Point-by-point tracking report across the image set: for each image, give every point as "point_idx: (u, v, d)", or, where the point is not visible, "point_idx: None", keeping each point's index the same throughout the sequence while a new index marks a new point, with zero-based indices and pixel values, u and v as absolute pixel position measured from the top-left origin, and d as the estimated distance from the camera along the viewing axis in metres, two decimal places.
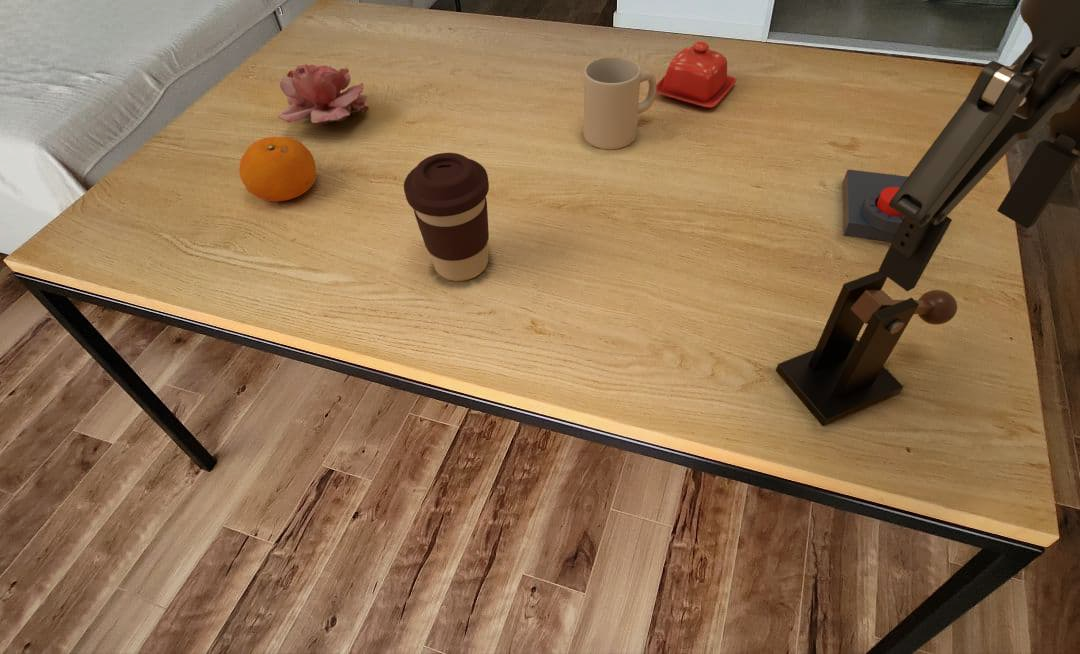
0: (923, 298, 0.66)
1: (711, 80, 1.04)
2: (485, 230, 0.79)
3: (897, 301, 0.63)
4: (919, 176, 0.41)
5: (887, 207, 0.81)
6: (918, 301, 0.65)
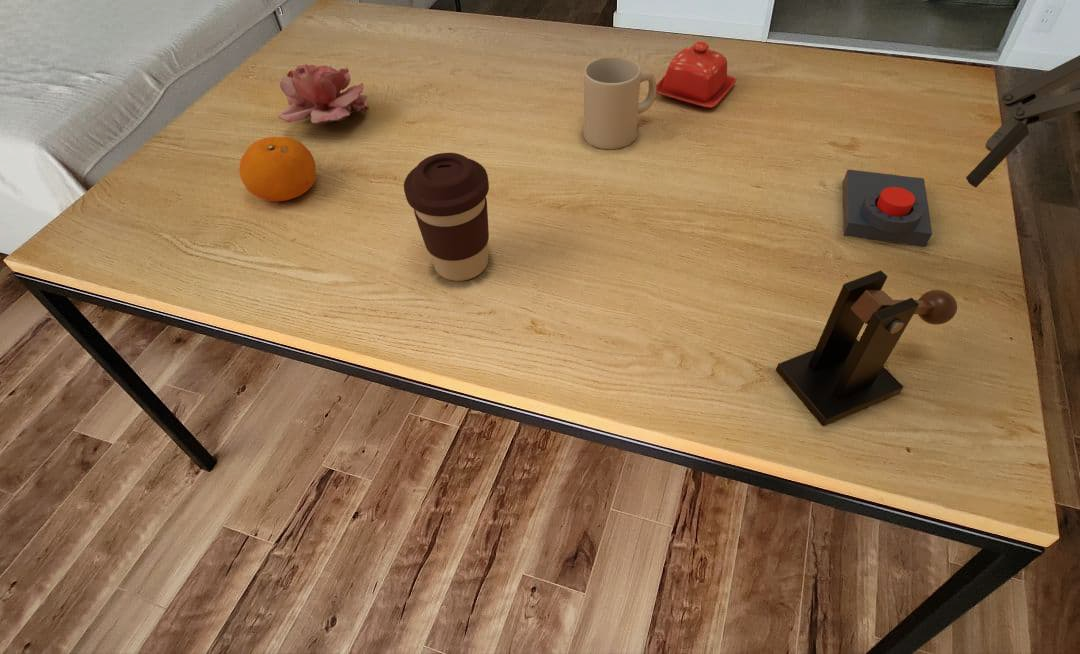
0: (923, 298, 0.66)
1: (711, 79, 1.04)
2: (485, 230, 0.79)
3: (897, 301, 0.63)
4: None
5: (887, 207, 0.81)
6: (918, 301, 0.65)
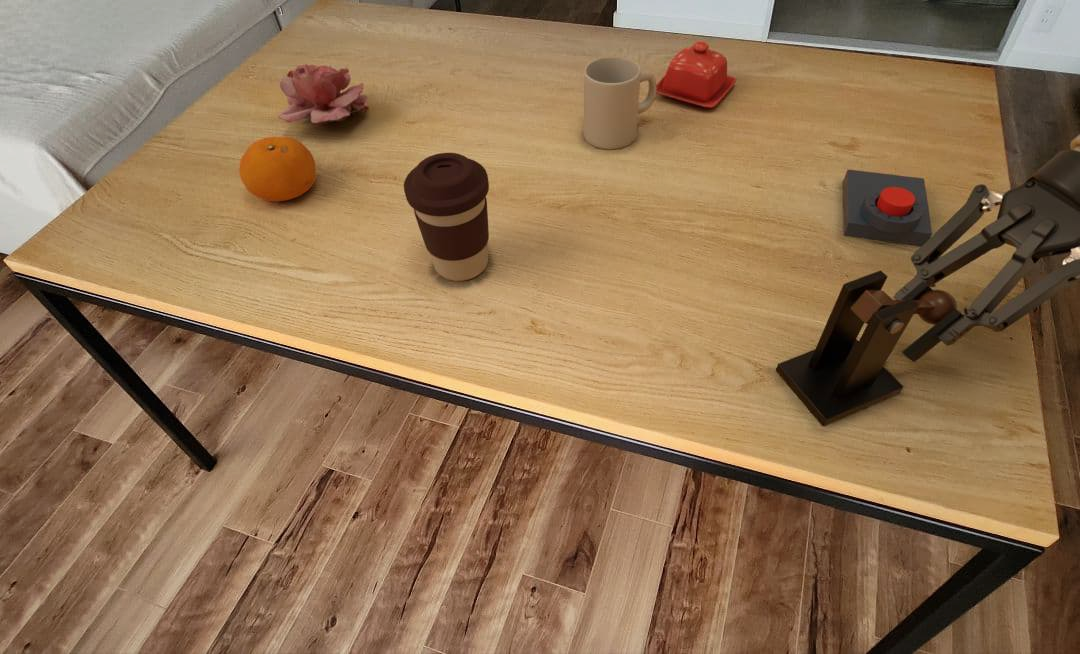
0: (923, 298, 0.66)
1: (711, 79, 1.04)
2: (485, 230, 0.79)
3: (897, 301, 0.63)
4: None
5: (887, 207, 0.81)
6: (918, 301, 0.65)
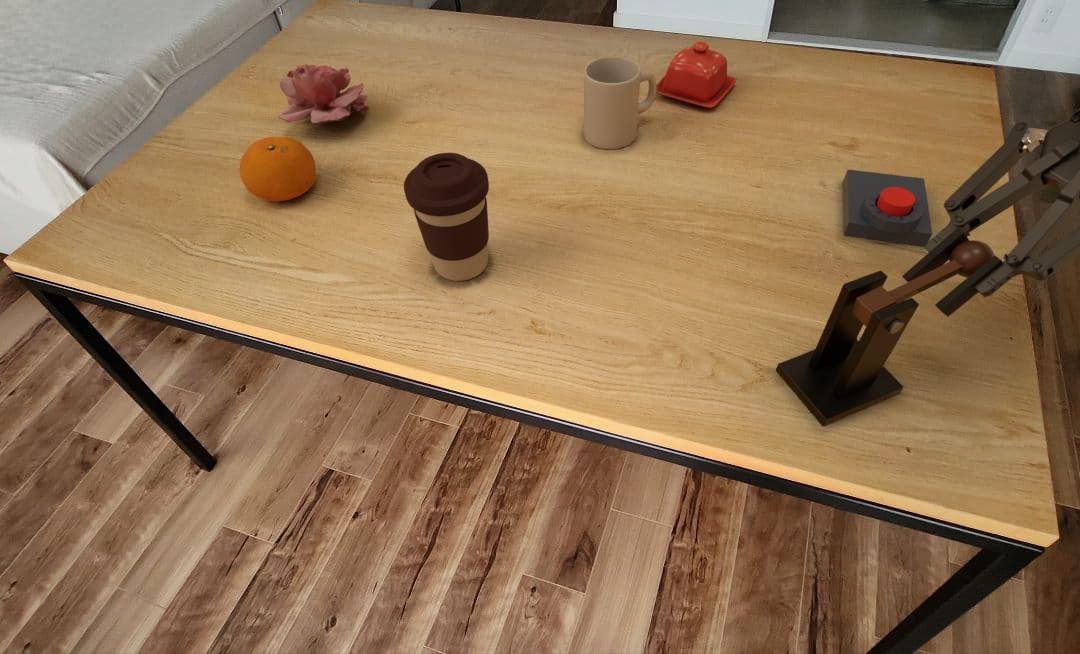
0: (951, 256, 0.62)
1: (711, 79, 1.04)
2: (485, 230, 0.79)
3: (905, 285, 0.61)
4: None
5: (887, 207, 0.81)
6: (939, 269, 0.61)
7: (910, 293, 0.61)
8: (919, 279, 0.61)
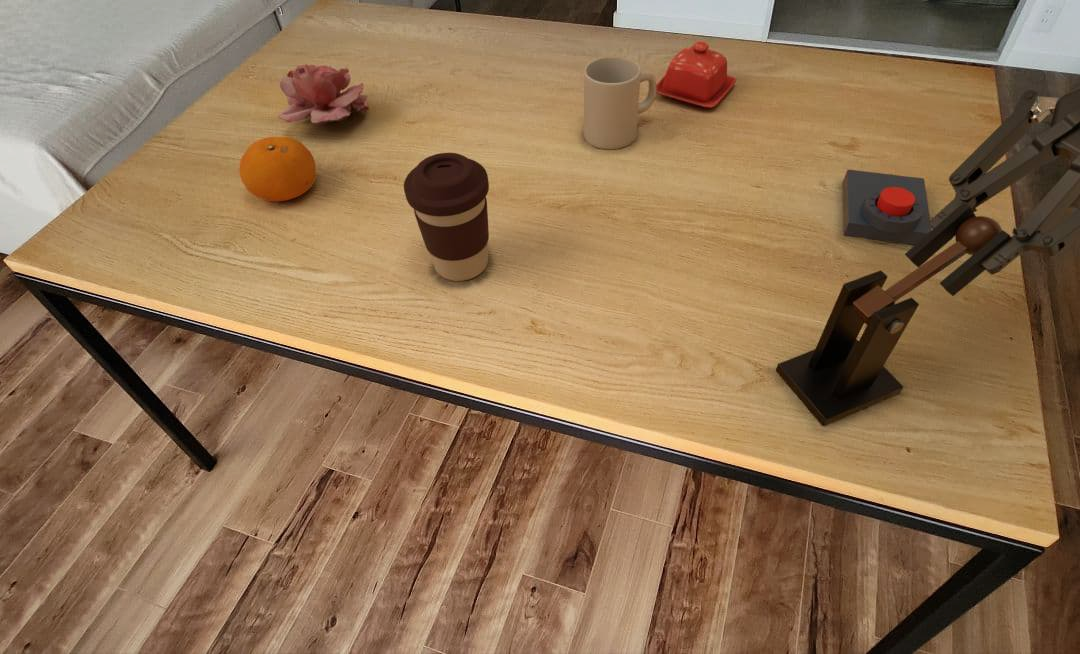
0: (956, 237, 0.60)
1: (711, 79, 1.04)
2: (485, 230, 0.79)
3: (905, 279, 0.60)
4: None
5: (887, 207, 0.81)
6: (941, 254, 0.59)
7: (911, 287, 0.60)
8: (920, 270, 0.60)
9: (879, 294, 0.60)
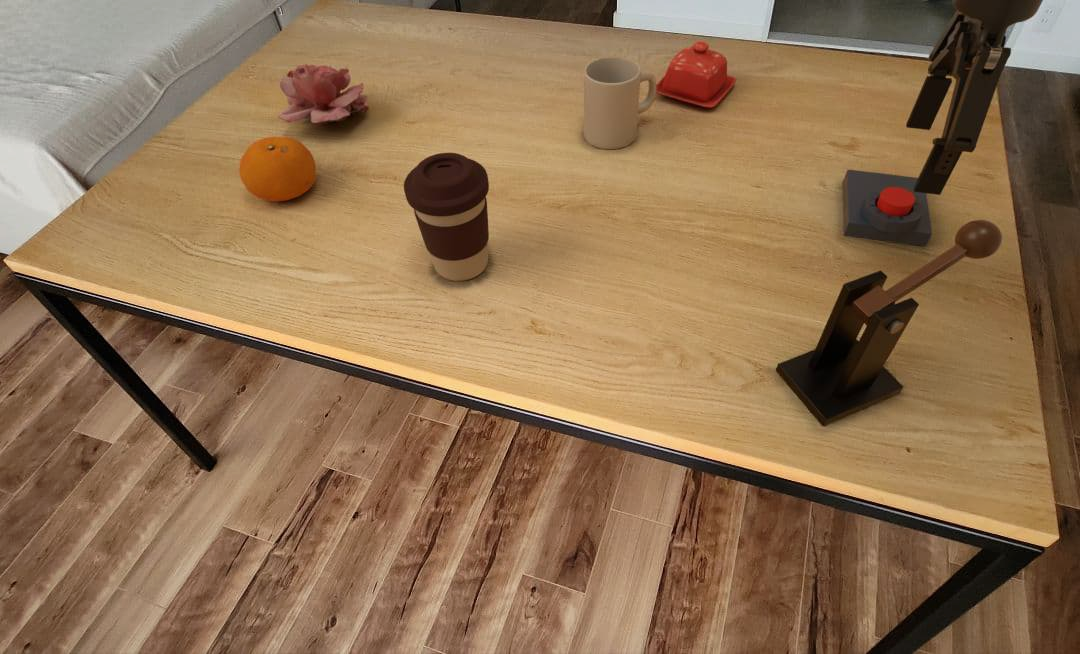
0: (955, 240, 0.60)
1: (711, 79, 1.04)
2: (485, 230, 0.79)
3: (906, 280, 0.60)
4: None
5: (887, 207, 0.81)
6: (941, 256, 0.60)
7: (911, 288, 0.60)
8: (920, 271, 0.60)
9: (880, 294, 0.60)
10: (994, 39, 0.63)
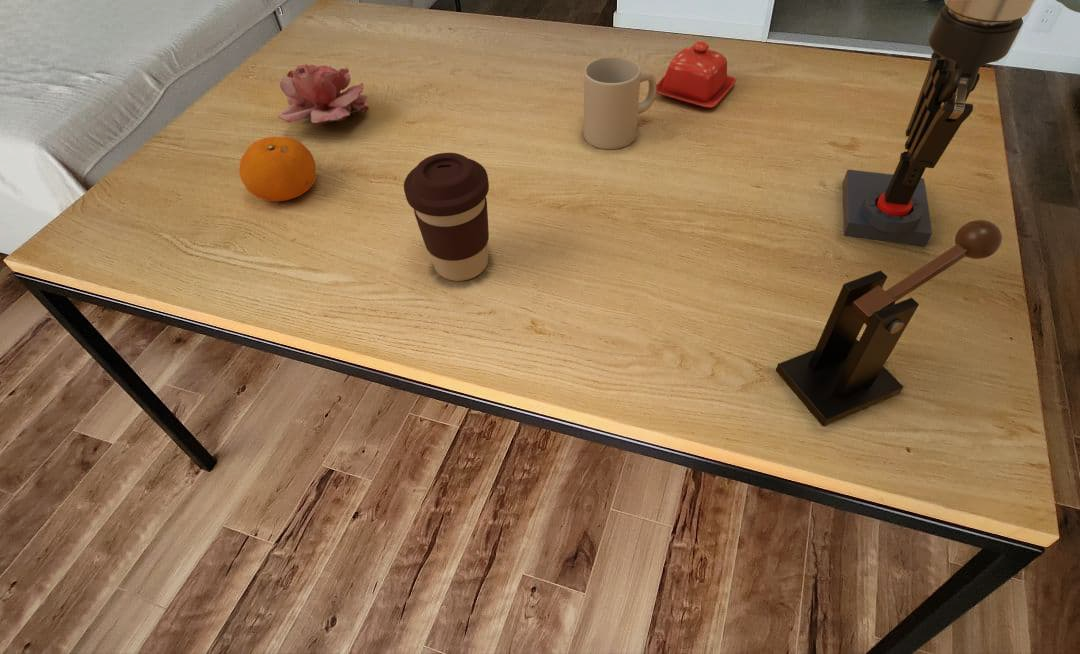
0: (955, 240, 0.60)
1: (711, 79, 1.04)
2: (485, 230, 0.79)
3: (906, 280, 0.60)
4: None
5: (885, 212, 0.82)
6: (941, 256, 0.60)
7: (911, 288, 0.60)
8: (920, 271, 0.60)
9: (880, 294, 0.60)
10: (968, 78, 0.66)
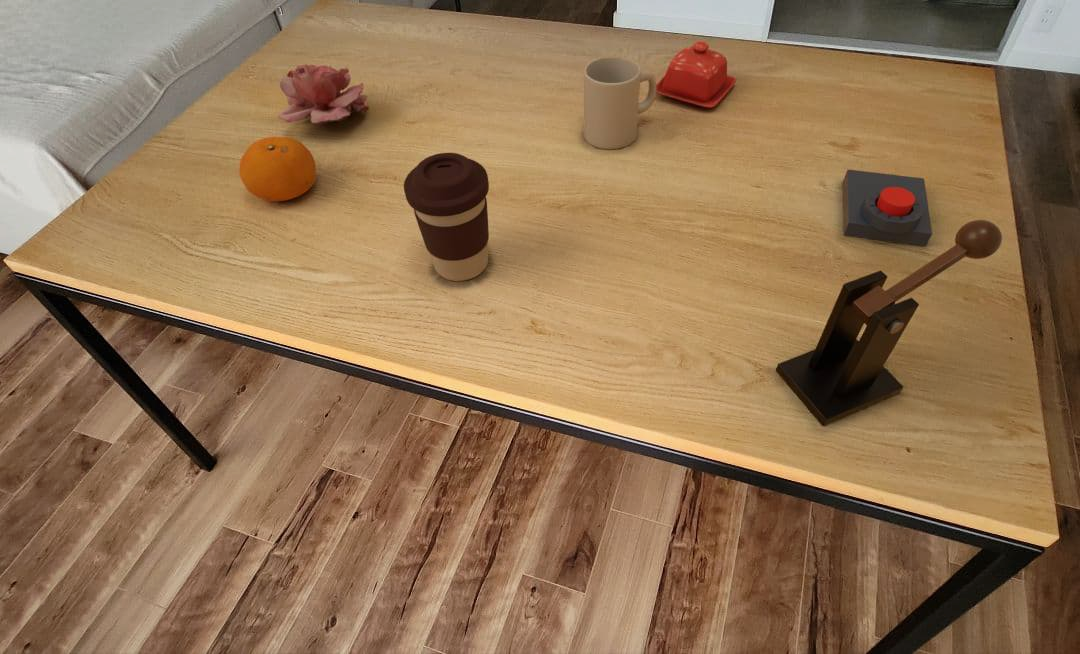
0: (955, 240, 0.60)
1: (711, 79, 1.04)
2: (485, 230, 0.79)
3: (906, 280, 0.60)
4: None
5: (887, 207, 0.81)
6: (941, 256, 0.60)
7: (911, 288, 0.60)
8: (920, 271, 0.60)
9: (880, 294, 0.60)
10: None
